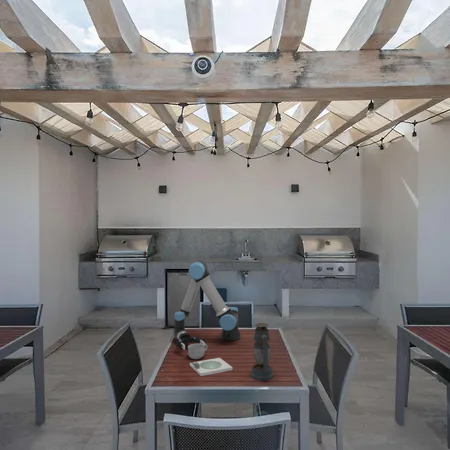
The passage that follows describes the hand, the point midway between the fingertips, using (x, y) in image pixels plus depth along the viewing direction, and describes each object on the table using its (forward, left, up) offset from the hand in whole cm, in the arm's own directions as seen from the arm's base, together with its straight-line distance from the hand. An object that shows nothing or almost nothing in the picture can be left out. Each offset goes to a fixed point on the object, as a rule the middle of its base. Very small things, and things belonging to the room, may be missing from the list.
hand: (194, 346), depth 250 cm
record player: (-1, +25, -6) cm, 25 cm away
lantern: (-23, +49, -6) cm, 54 cm away
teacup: (-1, +5, -6) cm, 8 cm away
